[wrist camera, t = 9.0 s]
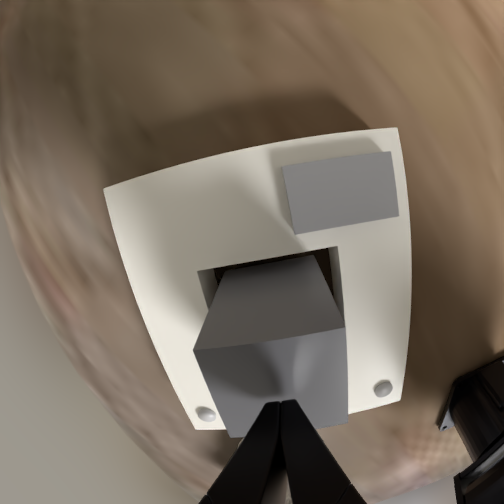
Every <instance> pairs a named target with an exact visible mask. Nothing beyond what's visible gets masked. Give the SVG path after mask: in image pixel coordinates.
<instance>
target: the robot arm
mask: <svg viewBox="0 0 504 504" xmlns="http://www.w3.org/2000/svg"><path fill="white" fill-rule="evenodd" d="M453 426H455V427H456V429H457V431H458V433H459V435H460V437H461V439H462V441H463V443H464V445H465V447H466V449H467V451H468V453H469V455H470V457H471V459H472V461H473V463H472V464H471V465H470V466H469V467H468V468H466V469H465V470H464V471H462V472H461V473H458V474H457V475H456V476H454V484H455V486H454V487H455V493H456V500H457V504H504V356H503V357H502V358H500V359H498V360H496V361H494V362H492V363H490V364H488V365H486V366H484V367H482V368H480V369H478V370H475V371H473V372H471V373H469V374H467V375H464V376H462V377H460V378H458V379H457V380H455V382H454V383H453V386H452V389H451V392H450V395H449V398H448V401H447V404H446V407H445V410H444V413H443V416H442V418H441V421H440V424H439V426H438V428H439V430H440V431H444V430H446V429H449V428H451V427H453ZM287 481H288V482H289V488H290V493H291V498H292V504H367V503H366V502H365V501H364V499H363V498H362V497H361V495H360V494H359V493H358V491H357V490H356V489H355V487H354V486H353V484H351V482H350V480H349V479H348V477H347V476H346V474H345V473H344V472H343V470H342V469H341V467H340V466H339V464H338V463H337V461H336V460H335V458H334V457H333V455H332V454H331V452H330V451H329V449H328V448H327V446H326V445H325V443H324V442H323V440H322V439H321V437H320V436H319V434H318V433H317V431H316V430H315V428H314V426H313V425H312V423H311V422H310V420H309V419H308V417H307V416H306V414H305V412H304V411H303V409H302V408H301V406H300V405H299V403H298V401H297V400H296V399H289V400H283V401H282V402H280V401H274V402H267V403H265V405H264V406H263V408H262V410H261V411H260V413H259V415H258V416H257V418H256V419H255V421H254V423H253V424H252V426H251V428H250V429H249V431H248V432H247V434H246V436H245V437H244V439H243V440H242V442H241V443H240V445H239V446H238V448H237V450H236V451H235V453H234V454H233V456H232V457H231V459H230V460H229V462H228V463H227V464H226V466H225V467H224V469H223V470H222V472H221V473H220V475H219V476H218V478H217V479H216V480H215V482H214V483H213V485H212V486H211V487H210V489H209V490H208V492H207V495H204V497H203V498H202V499H201V501H200V502H199V503H198V504H285V501H286V492H287Z"/></svg>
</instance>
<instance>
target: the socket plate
mask: <svg viewBox="0 0 504 504" xmlns="http://www.w3.org/2000/svg"><path fill="white" fill-rule="evenodd" d="M103 191H104V195H105V199H106V203H107V207H108V211H109V215H110V219H111V223H112V226H113V230H114V233H115V237H116V240H117V244H118V247H119V250H120V254H121V257H122V260H123V263H124V266H125V269H126V272H127V275H128V278H129V281H130V284H131V287H132V290H133V293H134V295H135V298H136V301H137V304H138V306H139V309H140V311H141V314H142V317H143V319H144V322H145V324H146V327H147V329H148V332H149V334H150V336H151V339H152V341H153V344H154V346H155V348H156V351H157V353H158V355H159V357H160V360H161V362H162V364H163V366H164V368H165V370H166V373H167V375H168V377H169V379H170V381H171V383H172V385H173V387H174V389H175V391H176V393H177V395H178V397H179V399H180V401H181V403H182V405H183V407H184V409H185V411H186V413H187V414H188V416H189V418H190V420H191V422H192V424H193V425H194V427H195V429H196V430H218V429H226V428H225V425H224V423H223V421H222V419H221V417H220V415H219V412H218V410H217V408H216V406H215V403H214V401H213V399H212V396H211V394H210V392H209V389H208V387H207V385H206V382H205V380H204V377H203V375H202V373H201V370H200V368H199V365H198V363H197V360H196V358H195V355H194V352H193V348H194V345H195V343H196V340H197V338H198V336H199V333H200V331H201V328H202V326H203V323H204V321H205V318H206V316H207V313H208V311H209V309H210V306H211V304H212V301H213V299H214V296H215V294H216V292H217V289H218V284H217V280H216V277H215V273H214V269H213V268H217V267H223V266H228V265H234V264H240V263H245V262H251V261H256V260H262V259H268V258H273V257H279V256H284V255H290V254H295V253H301V252H306V251H312V250H317V249H323V248H328V250H329V257H330V266H331V274H332V283H333V292H334V301H335V303H336V306H337V308H338V310H339V312H340V315H341V317H342V319H343V322H344V324H345V327H346V340H347V363H348V414H350V413H355V412H359V411H363V410H367V409H371V408H375V407H379V406H383V405H386V404H390V403H393V402H396V401H400V399H401V393H402V387H403V381H404V374H405V367H406V359H407V350H408V341H409V329H410V314H411V288H412V257H411V231H410V216H409V204H408V194H407V185H406V177H405V170H404V163H403V156H402V150H401V145H400V139H399V134H398V129H397V128H383V129H371V130H360V131H351V132H342V133H334V134H326V135H319V136H312V137H306V138H299V139H293V140H287V141H281V142H276V143H270V144H265V145H260V146H255V147H250V148H245V149H241V150H236V151H232V152H227V153H223V154H219V155H215V156H210V157H206V158H202V159H198V160H195V161H191V162H187V163H183V164H180V165H176V166H173V167H169V168H166V169H162V170H159V171H155V172H152V173H149V174H146V175H142V176H139V177H136V178H133V179H130V180H127V181H124V182H121V183H118V184H115V185H112V186H109V187H107V188H104V189H103Z"/></svg>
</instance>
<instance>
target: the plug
mask: <svg viewBox="0 0 504 504" xmlns="http://www.w3.org/2000/svg"><path fill="white" fill-rule="evenodd" d="M193 352H194V355H195V358H196V360H197V363H198V365H199V368H200V370H201V373H202V375H203V377H204V380H205V382H206V385H207V387H208V389H209V392H210V394H211V396H212V399H213V401H214V403H215V406H216V408H217V410H218V412H219V415H220V417H221V419H222V421H223V423H224V425H225V428H226V430H227V432H228V434H229V436H230V438H236V437H245V436H246V434H247V432H248V431H249V429H250V428H251V426H252V424H253V423H254V421H255V419H256V418H257V416H258V415H259V413H260V411H261V410H262V408H263V406H264V405H265V403H267V402H274V401H280V402H282V401H283V400H289V399H296V400H297V401H298V403H299V405H300V406H301V408H302V409H303V411H304V412H305V414H306V416H307V417H308V419H309V420H310V422H311V423H312V425H313V426H314V428H315V429H319V428H325V427H330V426H335V425H340V424H345V423H348V363H347V340H346V327H345V324H344V322H343V319H342V317H341V315H340V312H339V310H338V308H337V306H336V303H335V301H334V299H333V296H332V294H331V292H330V290H329V287H328V285H327V283H326V281H325V278H324V276H323V274H322V272H321V270H320V267H319V265H318V263H317V261H316V259H315V257H314V255H310V256H305V257H300V258H294V259H289V260H283V261H278V262H272V263H267V264H261V265H256V266H250V267H245V268H239V269H234V270H228V271H225V272H224V275H223V277H222V280H221V282H220V284H219V287H218V289H217V292H216V294H215V296H214V299H213V301H212V304H211V306H210V309H209V311H208V313H207V316H206V318H205V321H204V323H203V326H202V328H201V331H200V333H199V336H198V338H197V340H196V343H195V345H194V348H193Z"/></svg>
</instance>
